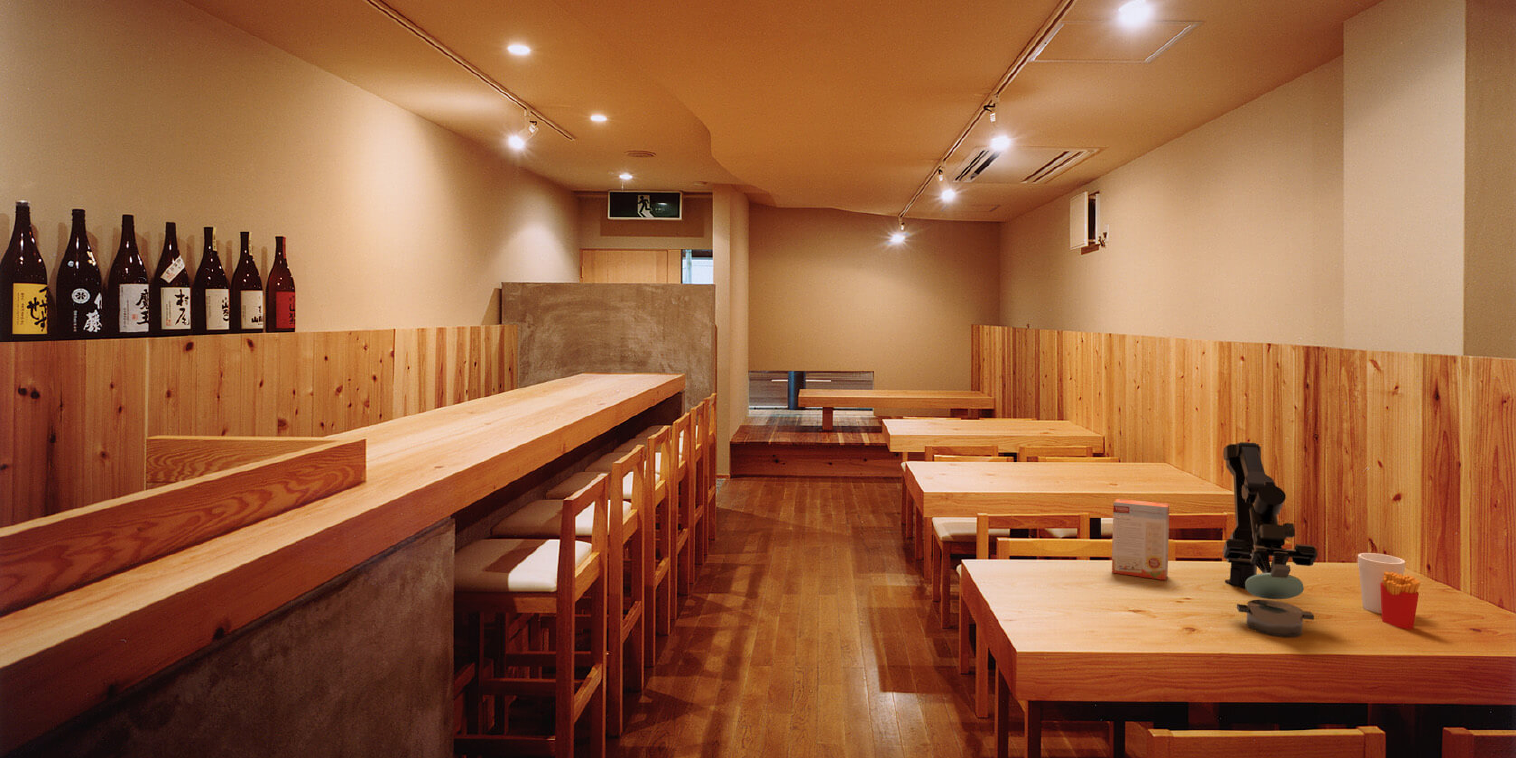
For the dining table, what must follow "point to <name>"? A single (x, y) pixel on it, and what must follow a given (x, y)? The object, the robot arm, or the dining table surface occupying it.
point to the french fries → (1399, 599)
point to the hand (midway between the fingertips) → (1273, 584)
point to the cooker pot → (1275, 617)
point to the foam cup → (1376, 576)
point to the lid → (1275, 584)
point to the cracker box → (1140, 538)
